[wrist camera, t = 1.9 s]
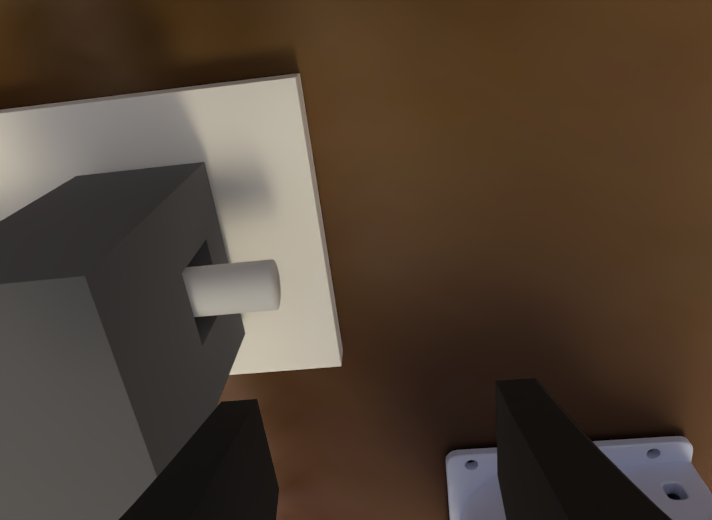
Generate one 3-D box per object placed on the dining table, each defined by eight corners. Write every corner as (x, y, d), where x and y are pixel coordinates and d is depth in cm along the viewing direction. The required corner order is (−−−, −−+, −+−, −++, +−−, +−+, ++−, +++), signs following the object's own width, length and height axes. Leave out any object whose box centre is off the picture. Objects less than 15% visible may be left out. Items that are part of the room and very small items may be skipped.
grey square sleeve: (204, 161, 17) (84, 275, 10) (245, 333, 19) (171, 518, 12) (76, 175, 17) (-125, 295, 10) (132, 342, 20) (1, 527, 13)
